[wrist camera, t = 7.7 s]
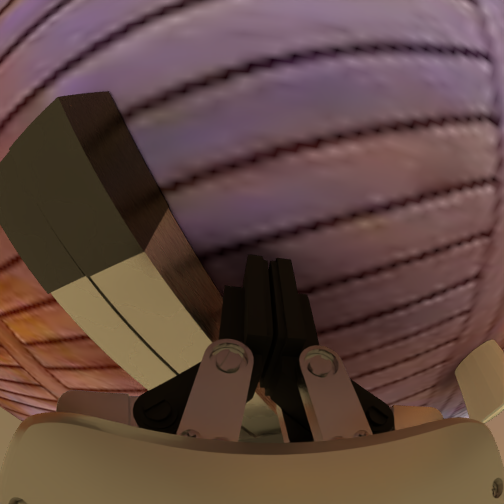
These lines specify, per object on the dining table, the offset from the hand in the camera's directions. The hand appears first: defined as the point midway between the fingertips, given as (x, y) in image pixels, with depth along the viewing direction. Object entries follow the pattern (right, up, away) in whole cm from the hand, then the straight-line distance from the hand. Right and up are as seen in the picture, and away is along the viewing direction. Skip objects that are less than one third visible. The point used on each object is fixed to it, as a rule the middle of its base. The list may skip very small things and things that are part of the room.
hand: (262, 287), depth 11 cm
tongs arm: (-2, -3, +3) cm, 4 cm away
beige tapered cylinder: (+23, -9, +8) cm, 26 cm away
